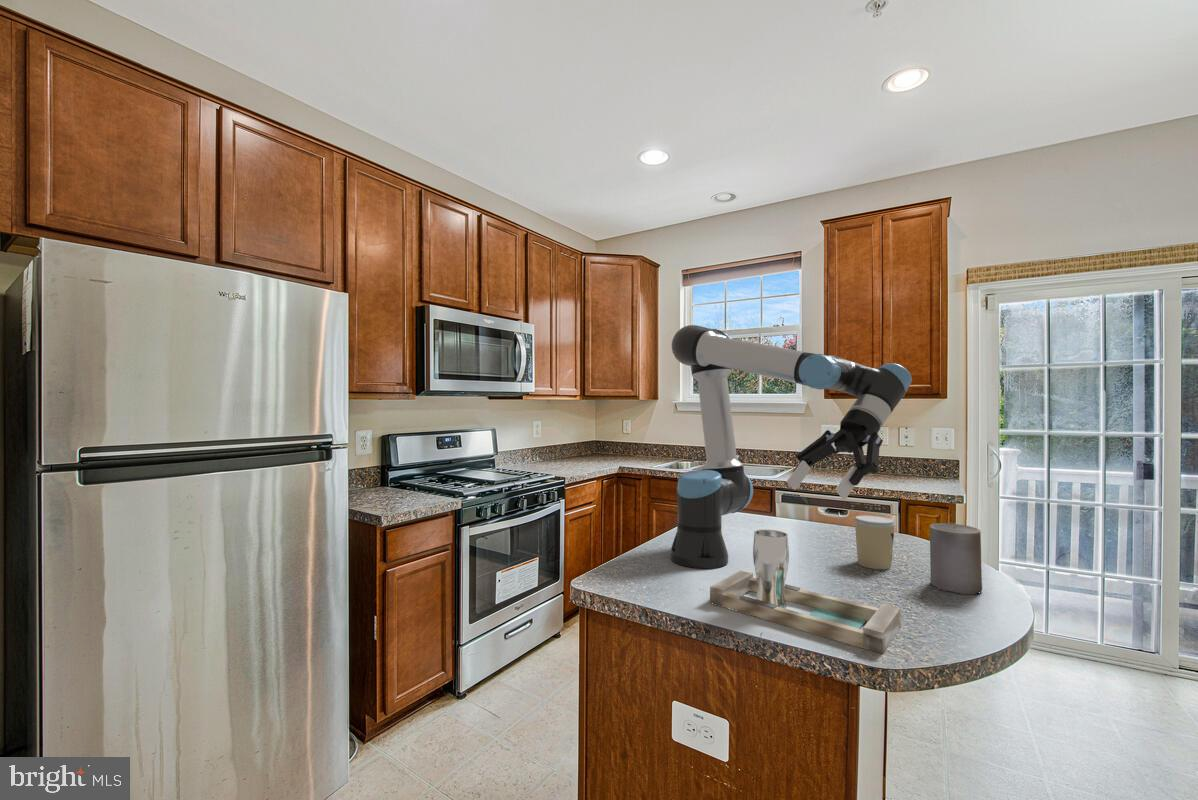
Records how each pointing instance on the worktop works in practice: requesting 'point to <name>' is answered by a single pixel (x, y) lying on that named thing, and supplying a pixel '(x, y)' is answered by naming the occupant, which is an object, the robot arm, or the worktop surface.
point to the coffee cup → (874, 541)
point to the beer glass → (771, 565)
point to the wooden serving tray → (814, 613)
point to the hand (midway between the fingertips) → (814, 490)
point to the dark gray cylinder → (955, 558)
